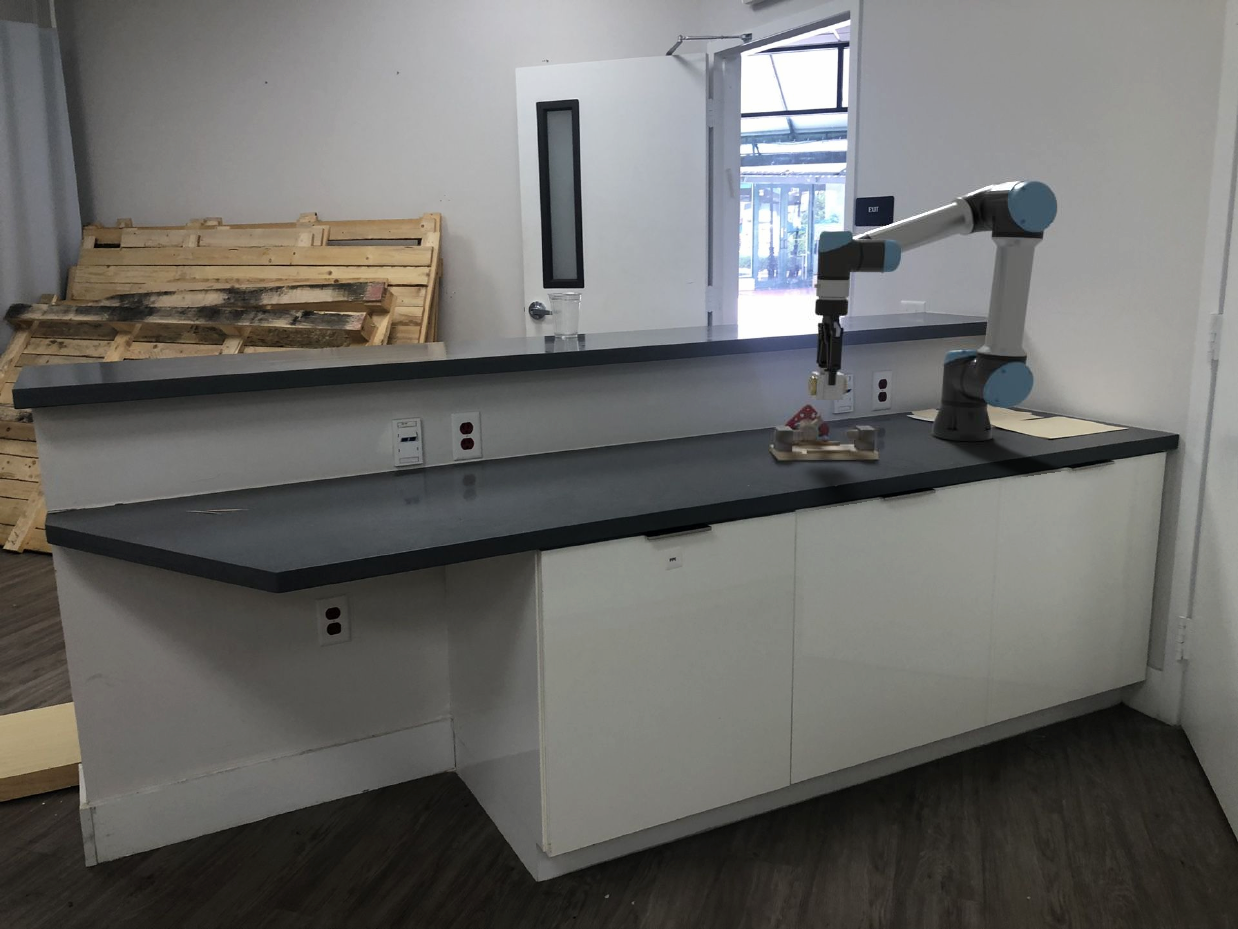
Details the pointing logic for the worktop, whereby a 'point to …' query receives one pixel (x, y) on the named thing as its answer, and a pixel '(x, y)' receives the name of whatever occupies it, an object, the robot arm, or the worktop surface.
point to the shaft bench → (824, 445)
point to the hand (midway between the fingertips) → (826, 396)
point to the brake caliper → (810, 425)
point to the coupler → (818, 384)
